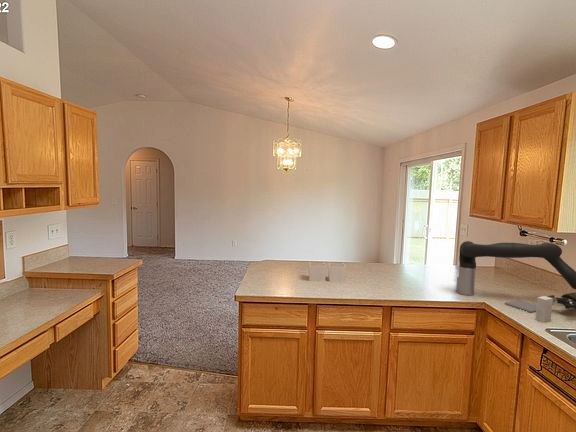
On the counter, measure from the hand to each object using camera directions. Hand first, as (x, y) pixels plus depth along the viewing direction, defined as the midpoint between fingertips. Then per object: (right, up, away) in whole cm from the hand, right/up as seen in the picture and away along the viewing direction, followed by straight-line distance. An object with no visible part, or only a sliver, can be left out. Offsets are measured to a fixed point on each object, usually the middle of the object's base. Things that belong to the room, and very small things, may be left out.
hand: (556, 304), depth 172 cm
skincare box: (-10, -7, -4) cm, 13 cm away
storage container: (-114, +1, +60) cm, 129 cm away
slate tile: (-6, -5, +14) cm, 17 cm away
